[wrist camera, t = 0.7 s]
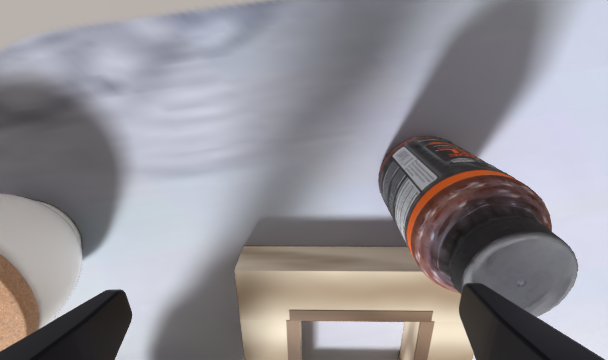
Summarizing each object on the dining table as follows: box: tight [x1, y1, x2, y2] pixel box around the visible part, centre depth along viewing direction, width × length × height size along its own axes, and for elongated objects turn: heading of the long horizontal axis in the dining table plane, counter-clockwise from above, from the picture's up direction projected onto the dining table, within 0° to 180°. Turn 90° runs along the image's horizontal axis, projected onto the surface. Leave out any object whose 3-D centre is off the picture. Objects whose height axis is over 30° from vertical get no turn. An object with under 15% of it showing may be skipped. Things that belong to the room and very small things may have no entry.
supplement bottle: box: [379, 136, 578, 317], centre depth 16 cm, size 6×6×11 cm
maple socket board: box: [234, 246, 474, 360], centre depth 25 cm, size 18×18×3 cm
